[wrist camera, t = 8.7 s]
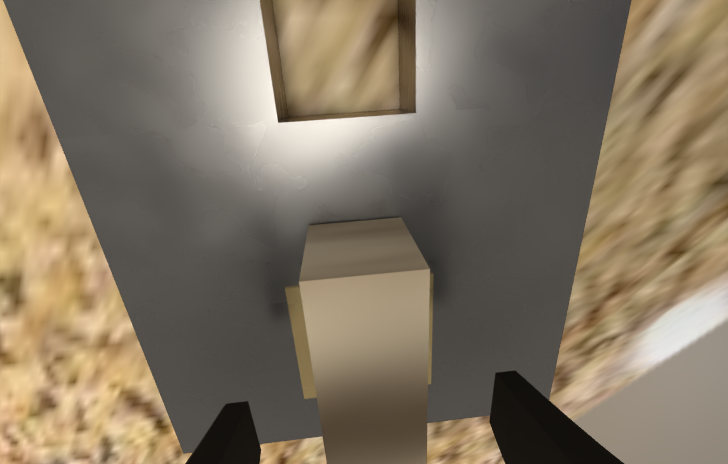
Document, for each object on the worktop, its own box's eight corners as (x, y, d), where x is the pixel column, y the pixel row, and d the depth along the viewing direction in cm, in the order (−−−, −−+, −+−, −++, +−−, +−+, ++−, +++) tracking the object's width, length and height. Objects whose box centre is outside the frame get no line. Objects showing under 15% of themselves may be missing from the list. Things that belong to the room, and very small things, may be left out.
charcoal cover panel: (598, -160, 10) (684, -241, 7) (518, 366, 18) (548, 410, 15) (20, -146, 9) (-94, -234, 7) (204, 403, 17) (182, 456, 14)
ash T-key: (395, 386, 17) (425, 524, 12) (336, 393, 17) (338, 536, 11) (389, 196, 13) (430, 268, 8) (312, 202, 13) (299, 281, 8)
